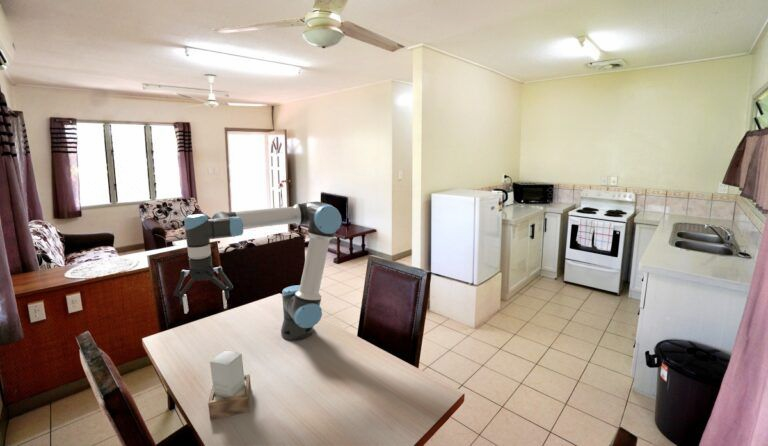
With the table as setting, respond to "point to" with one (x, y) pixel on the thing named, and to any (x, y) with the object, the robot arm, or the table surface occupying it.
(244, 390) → the brown square open box
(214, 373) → the supplement box
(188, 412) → the table surface
